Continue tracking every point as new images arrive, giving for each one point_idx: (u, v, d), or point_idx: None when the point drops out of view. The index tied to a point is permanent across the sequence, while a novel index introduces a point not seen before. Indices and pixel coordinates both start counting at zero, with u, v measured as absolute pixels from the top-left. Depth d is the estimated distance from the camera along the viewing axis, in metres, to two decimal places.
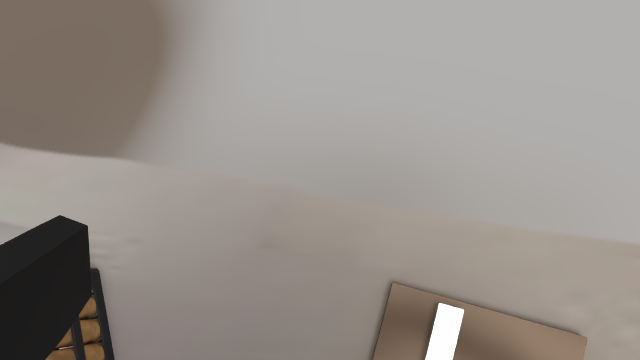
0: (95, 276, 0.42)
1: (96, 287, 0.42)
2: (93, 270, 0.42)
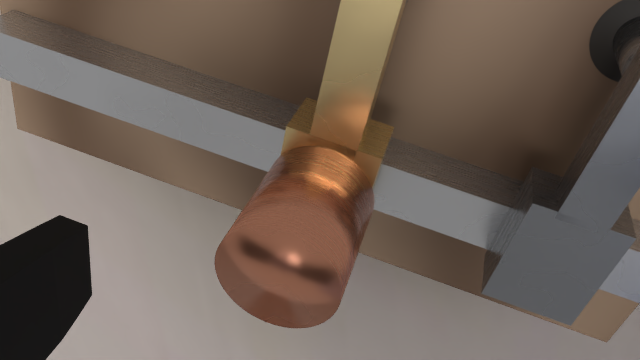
0: None
1: None
2: None
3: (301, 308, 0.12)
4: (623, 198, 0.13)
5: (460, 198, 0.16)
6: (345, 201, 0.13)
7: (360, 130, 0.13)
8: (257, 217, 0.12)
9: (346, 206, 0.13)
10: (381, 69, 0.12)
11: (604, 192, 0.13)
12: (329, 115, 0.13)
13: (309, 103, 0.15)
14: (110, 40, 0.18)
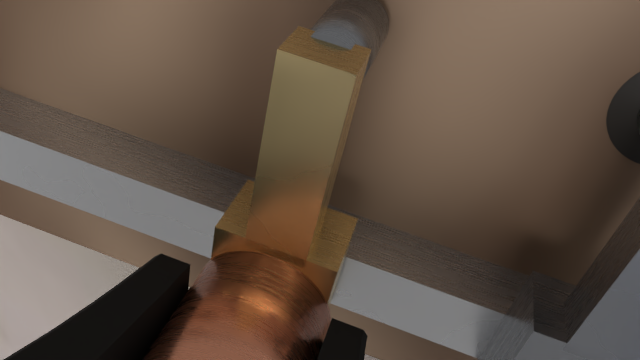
0: None
1: None
2: None
3: None
4: None
5: (443, 300, 0.13)
6: (285, 337, 0.10)
7: (308, 237, 0.10)
8: None
9: (286, 344, 0.10)
10: (331, 166, 0.09)
11: (629, 325, 0.10)
12: (267, 217, 0.10)
13: (250, 188, 0.12)
14: (22, 94, 0.15)
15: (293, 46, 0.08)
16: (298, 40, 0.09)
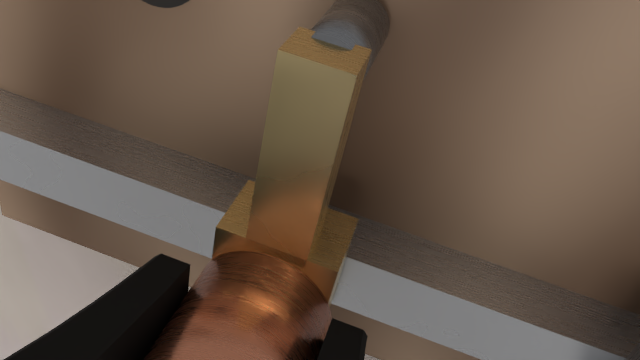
0: None
1: None
2: None
3: None
4: None
5: (559, 342, 0.12)
6: (286, 337, 0.10)
7: (309, 237, 0.10)
8: None
9: (287, 344, 0.10)
10: (331, 166, 0.09)
11: None
12: (268, 217, 0.10)
13: (251, 189, 0.12)
14: (113, 126, 0.15)
15: (294, 47, 0.08)
16: (299, 41, 0.09)
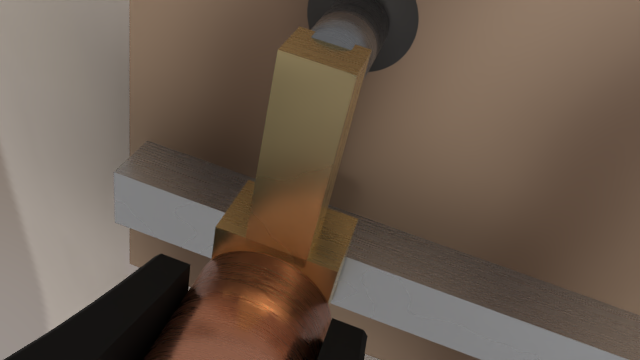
0: None
1: None
2: None
3: None
4: None
5: None
6: (286, 336, 0.10)
7: (308, 237, 0.10)
8: None
9: (287, 344, 0.10)
10: (331, 166, 0.09)
11: None
12: (268, 217, 0.10)
13: (251, 188, 0.12)
14: None
15: (293, 46, 0.08)
16: (298, 40, 0.09)
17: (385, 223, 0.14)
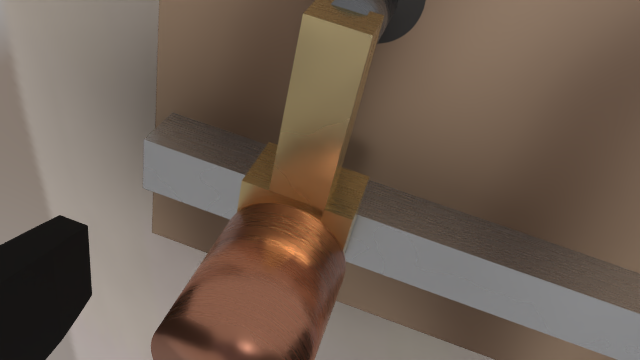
0: None
1: None
2: None
3: None
4: None
5: None
6: (308, 274, 0.11)
7: (327, 187, 0.11)
8: (198, 302, 0.10)
9: (309, 280, 0.11)
10: (348, 120, 0.10)
11: None
12: (290, 170, 0.11)
13: (272, 149, 0.13)
14: None
15: (316, 11, 0.10)
16: (320, 7, 0.10)
17: (394, 187, 0.15)
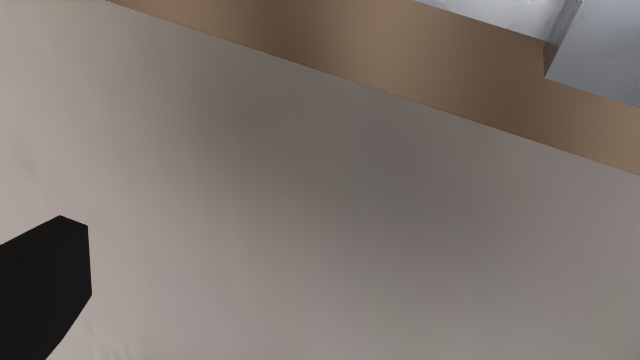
0: None
1: None
2: None
3: None
4: None
5: None
6: None
7: None
8: None
9: None
10: None
11: None
12: None
13: None
14: None
15: None
16: None
17: None
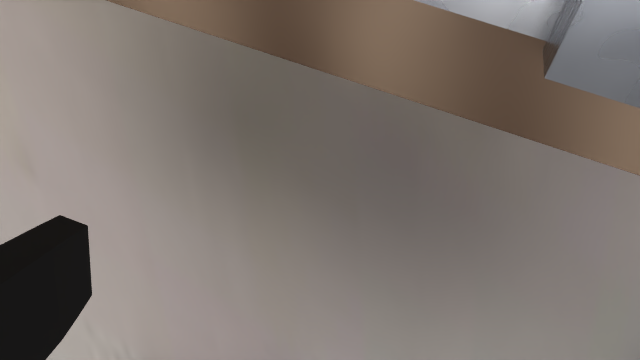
0: None
1: None
2: None
3: None
4: None
5: None
6: None
7: None
8: None
9: None
10: None
11: None
12: None
13: None
14: None
15: None
16: None
17: None
